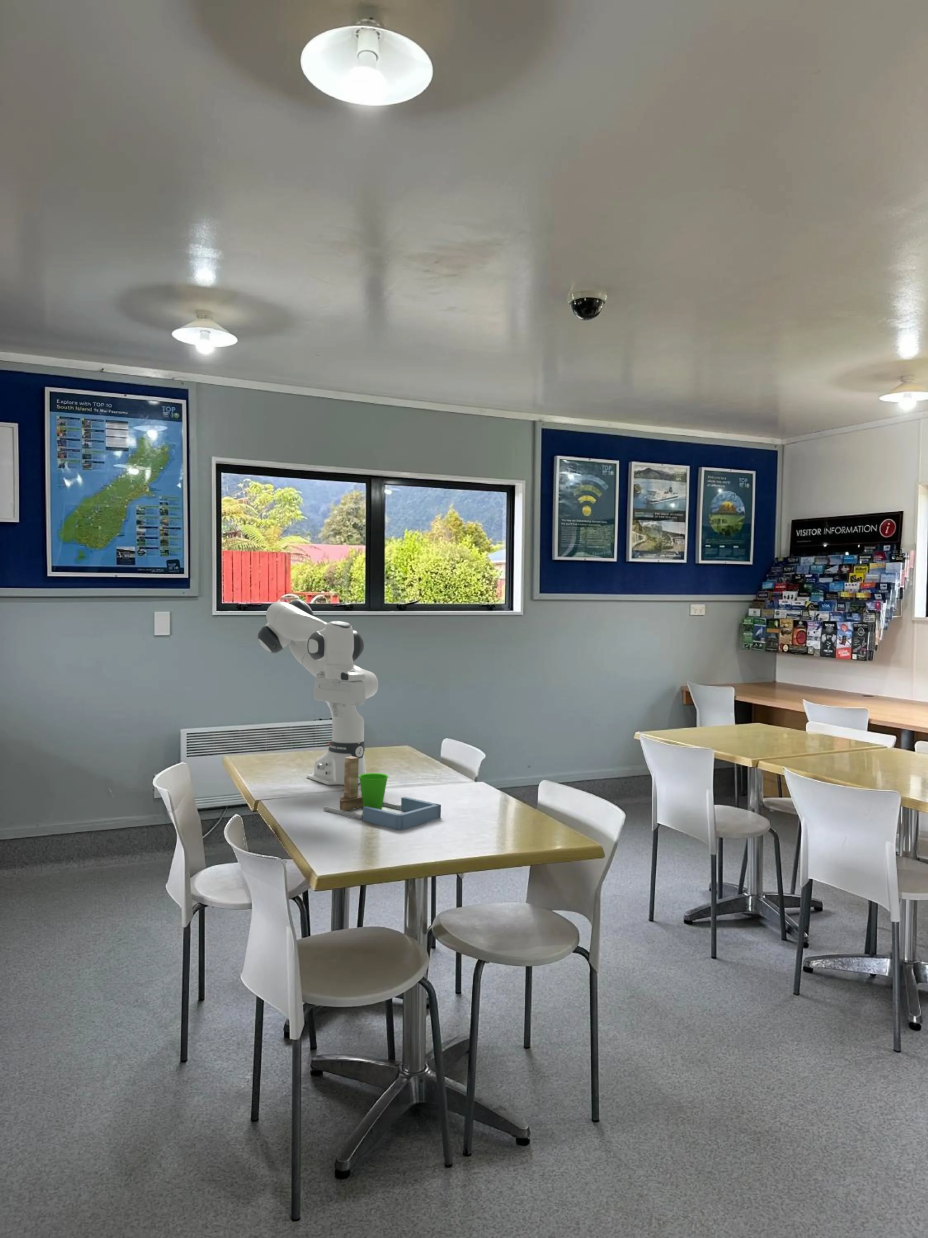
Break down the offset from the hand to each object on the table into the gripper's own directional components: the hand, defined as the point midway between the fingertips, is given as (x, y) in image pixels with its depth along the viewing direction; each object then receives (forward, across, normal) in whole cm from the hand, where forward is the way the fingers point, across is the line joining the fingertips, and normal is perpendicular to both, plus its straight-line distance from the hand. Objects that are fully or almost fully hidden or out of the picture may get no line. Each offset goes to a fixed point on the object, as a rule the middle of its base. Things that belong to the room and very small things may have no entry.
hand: (338, 717), depth 262 cm
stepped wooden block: (+27, +8, 0) cm, 28 cm away
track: (+27, +12, 0) cm, 30 cm away
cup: (+27, +16, 0) cm, 32 cm away
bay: (+27, +28, 0) cm, 39 cm away
